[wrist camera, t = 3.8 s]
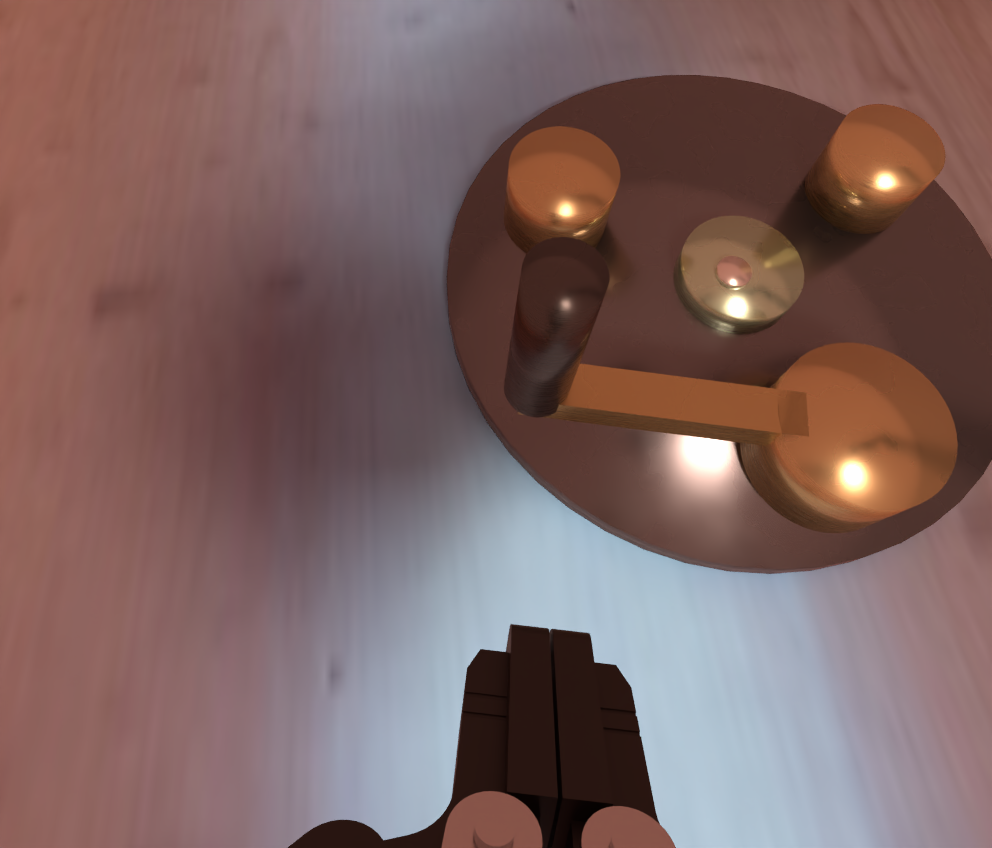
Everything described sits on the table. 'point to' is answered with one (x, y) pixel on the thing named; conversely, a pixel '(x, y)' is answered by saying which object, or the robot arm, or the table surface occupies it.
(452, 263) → the plate
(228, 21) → the table surface
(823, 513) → the lever knob
